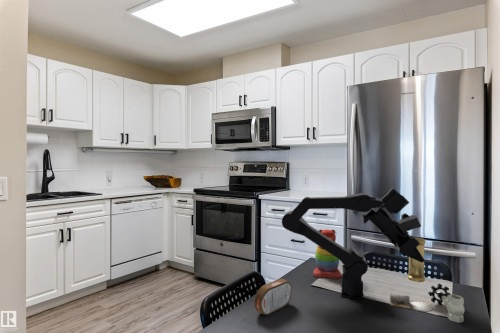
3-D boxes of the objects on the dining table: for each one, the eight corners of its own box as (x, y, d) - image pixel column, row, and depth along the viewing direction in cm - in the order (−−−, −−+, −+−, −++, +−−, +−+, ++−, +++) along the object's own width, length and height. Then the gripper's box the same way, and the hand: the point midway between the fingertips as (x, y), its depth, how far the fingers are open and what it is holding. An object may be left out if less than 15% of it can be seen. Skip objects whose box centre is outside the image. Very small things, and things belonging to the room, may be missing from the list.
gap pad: (411, 309, 96) (411, 308, 96) (408, 301, 102) (408, 300, 102) (433, 312, 94) (433, 312, 94) (430, 304, 100) (430, 303, 100)
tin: (286, 300, 103) (286, 274, 102) (293, 303, 100) (293, 277, 100) (253, 316, 92) (253, 287, 92) (261, 320, 90) (261, 291, 90)
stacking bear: (313, 277, 123) (313, 231, 122) (313, 268, 132) (313, 226, 132) (341, 279, 120) (342, 233, 120) (340, 270, 130) (340, 227, 130)
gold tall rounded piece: (406, 279, 102) (407, 239, 102) (409, 275, 106) (409, 236, 106) (423, 283, 99) (424, 241, 99) (425, 278, 103) (426, 238, 103)
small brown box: (390, 305, 99) (390, 296, 99) (389, 299, 103) (389, 290, 103) (410, 308, 97) (410, 299, 97) (408, 301, 101) (408, 293, 101)
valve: (472, 324, 88) (450, 304, 100) (472, 300, 88) (450, 283, 100) (446, 322, 89) (428, 303, 100) (447, 299, 88) (428, 282, 100)
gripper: (412, 211, 94) (453, 251, 91) (396, 203, 112) (430, 235, 110) (383, 236, 95) (423, 275, 93) (373, 224, 114) (405, 256, 112)
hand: (421, 259), depth 102 cm, fingers closed on gold tall rounded piece, 4 cm apart
